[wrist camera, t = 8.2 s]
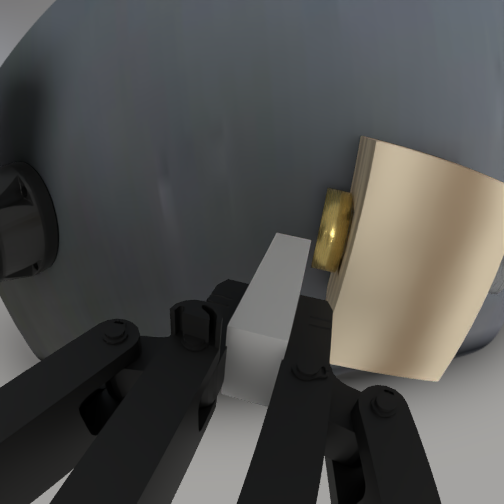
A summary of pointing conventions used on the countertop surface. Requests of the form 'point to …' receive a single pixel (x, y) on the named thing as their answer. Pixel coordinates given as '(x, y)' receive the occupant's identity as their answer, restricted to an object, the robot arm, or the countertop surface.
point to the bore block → (413, 261)
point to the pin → (337, 233)
